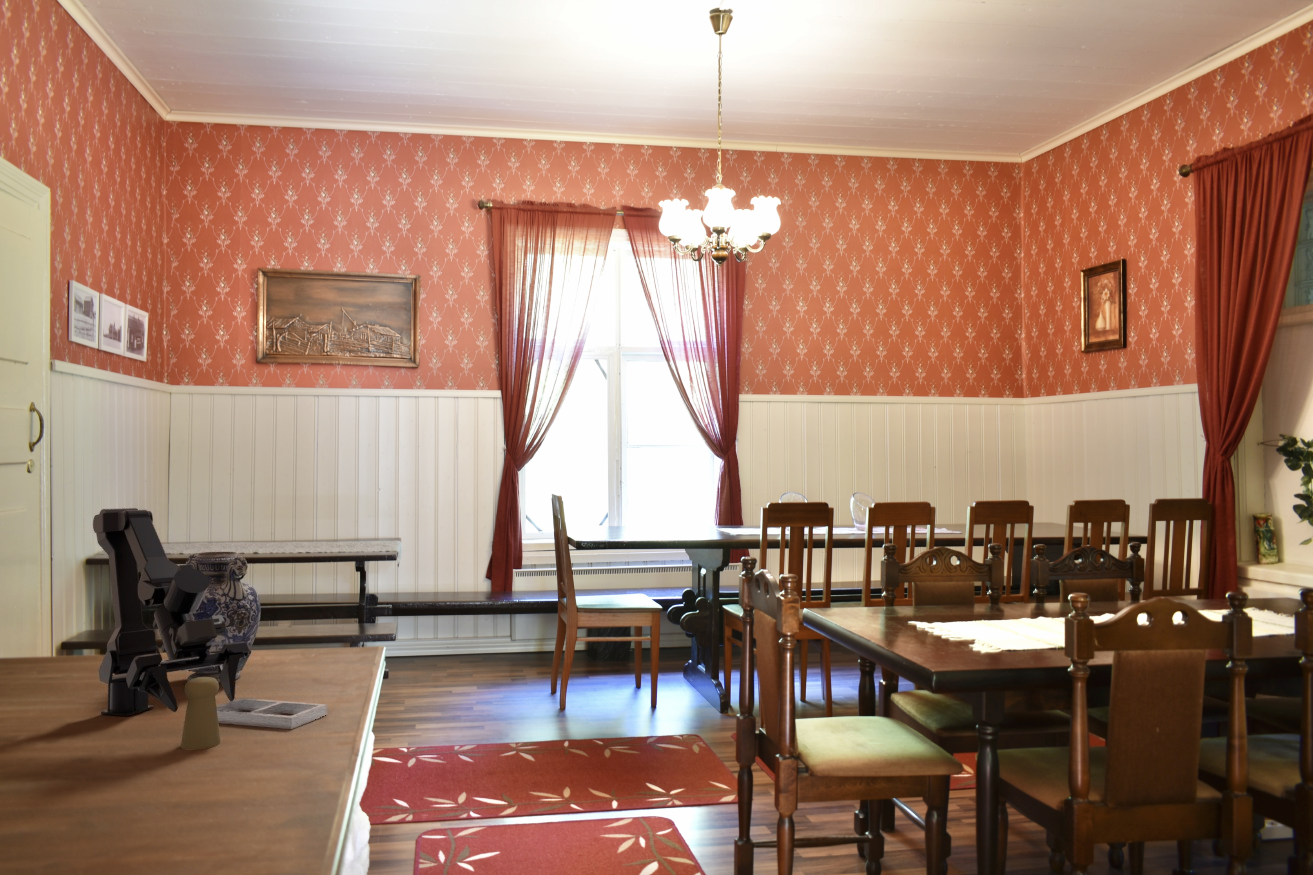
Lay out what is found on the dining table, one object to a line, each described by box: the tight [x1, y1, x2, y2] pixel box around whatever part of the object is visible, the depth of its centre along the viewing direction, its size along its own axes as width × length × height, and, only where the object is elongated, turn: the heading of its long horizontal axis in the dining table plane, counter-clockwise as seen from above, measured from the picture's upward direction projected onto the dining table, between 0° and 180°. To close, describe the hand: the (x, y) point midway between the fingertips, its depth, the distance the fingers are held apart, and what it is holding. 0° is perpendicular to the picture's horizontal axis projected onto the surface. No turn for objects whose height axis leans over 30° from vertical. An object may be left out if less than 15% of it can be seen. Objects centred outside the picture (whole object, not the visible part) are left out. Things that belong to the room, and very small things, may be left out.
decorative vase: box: [185, 551, 262, 684], centre depth 206 cm, size 21×19×28 cm
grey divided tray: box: [216, 697, 328, 730], centre depth 171 cm, size 19×10×2 cm, turn 74°
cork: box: [180, 677, 222, 751], centre depth 155 cm, size 6×6×11 cm
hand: (204, 704), depth 154 cm, fingers open, 9 cm apart
